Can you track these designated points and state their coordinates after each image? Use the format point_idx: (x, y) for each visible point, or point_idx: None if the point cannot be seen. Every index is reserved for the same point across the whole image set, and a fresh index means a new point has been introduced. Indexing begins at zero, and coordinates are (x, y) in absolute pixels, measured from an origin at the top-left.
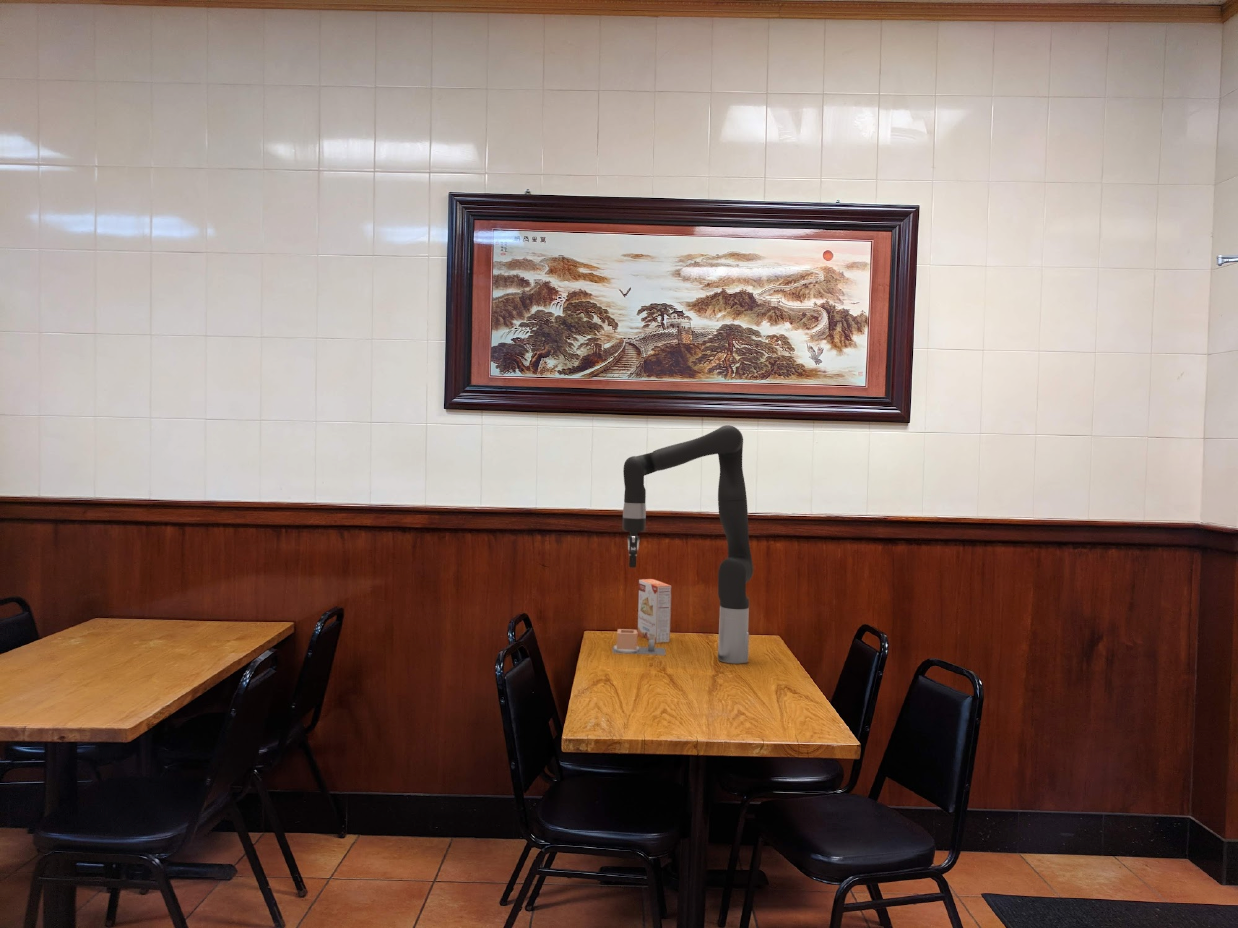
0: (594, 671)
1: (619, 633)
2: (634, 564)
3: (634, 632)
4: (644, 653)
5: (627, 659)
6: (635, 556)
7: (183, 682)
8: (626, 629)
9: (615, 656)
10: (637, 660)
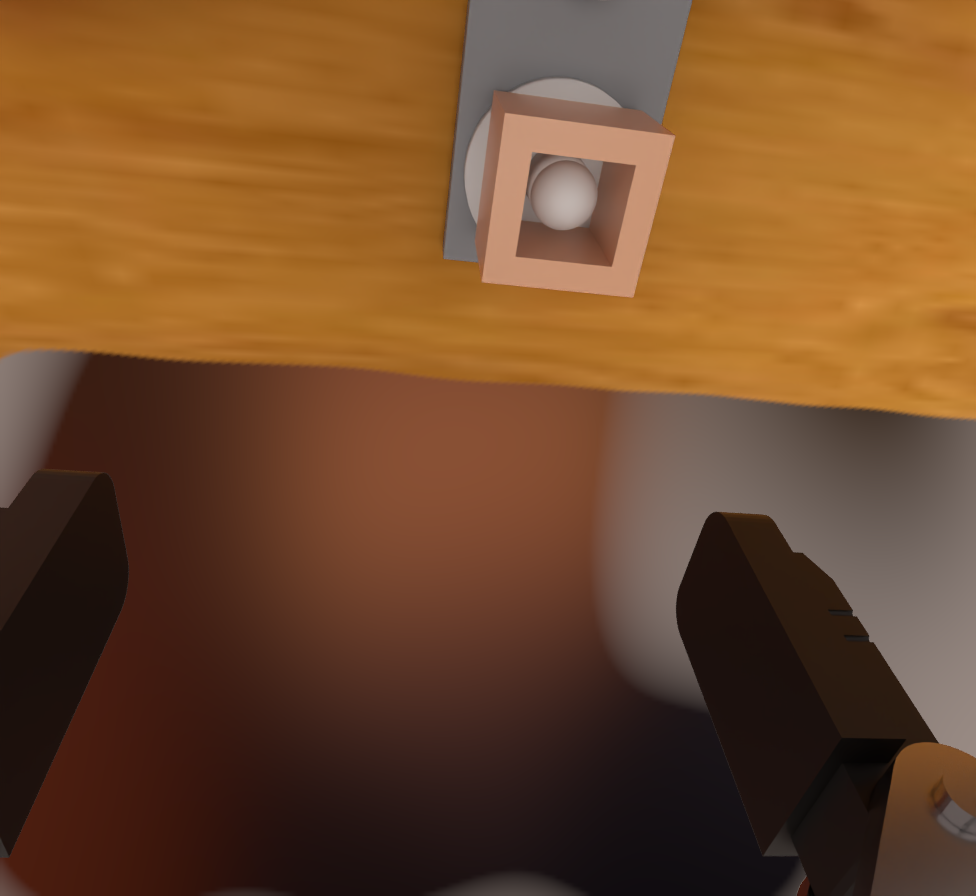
0: (879, 374)
1: (636, 280)
2: (827, 583)
3: (614, 153)
4: (662, 42)
5: (672, 172)
6: (891, 745)
7: None
8: (499, 211)
9: None
10: (707, 103)
